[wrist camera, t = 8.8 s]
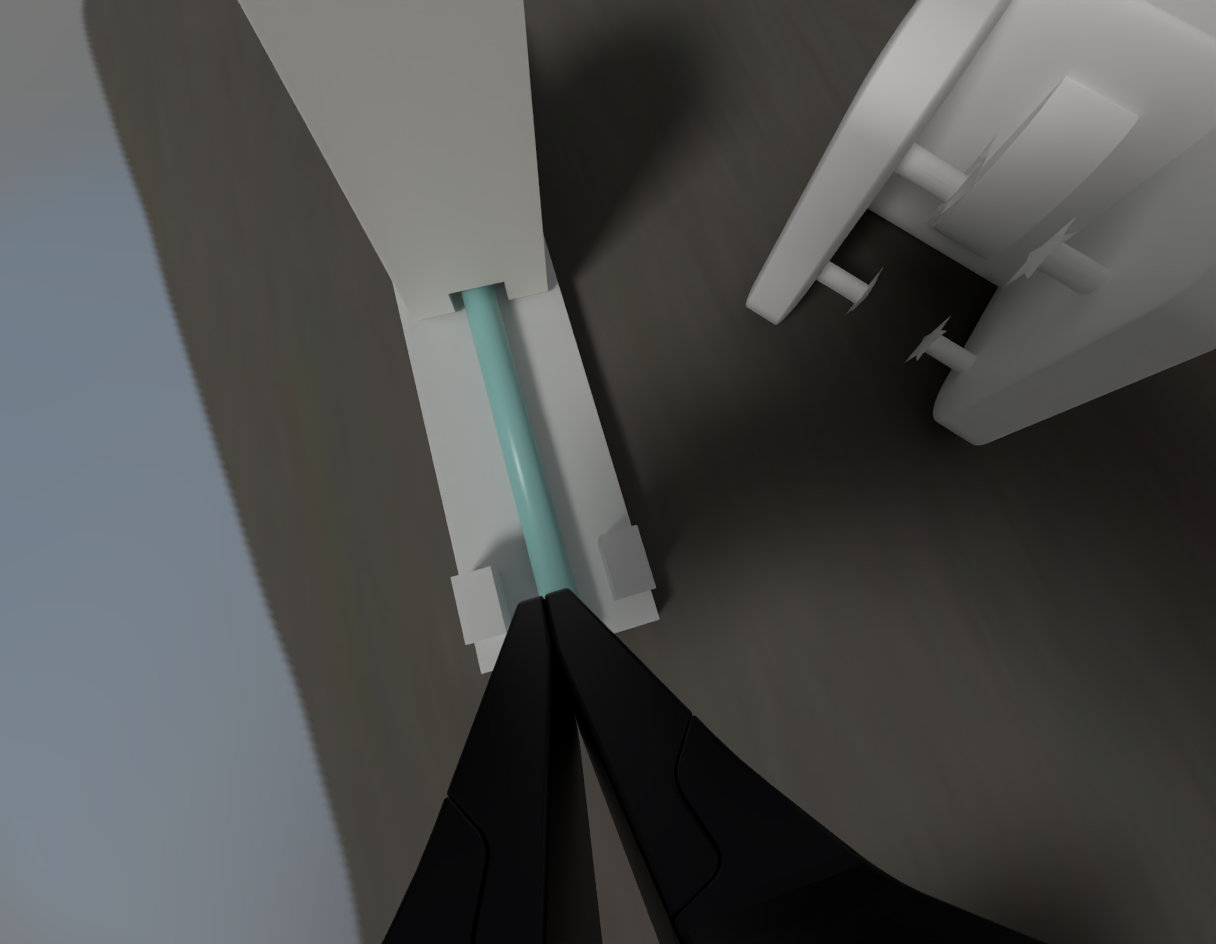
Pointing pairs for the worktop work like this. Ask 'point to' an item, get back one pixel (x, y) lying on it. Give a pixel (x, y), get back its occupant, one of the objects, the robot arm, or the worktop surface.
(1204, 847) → the worktop surface
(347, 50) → the grey rectangular box
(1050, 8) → the cable organizer
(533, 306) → the cord rail
